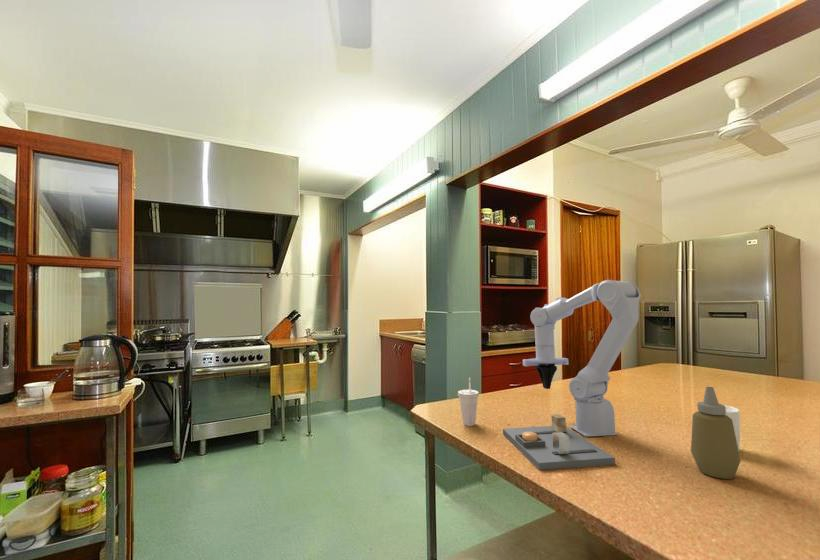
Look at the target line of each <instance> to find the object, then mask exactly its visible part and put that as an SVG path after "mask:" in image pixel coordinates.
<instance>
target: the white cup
mask: <svg viewBox="0 0 820 560" xmlns="http://www.w3.org/2000/svg"><path fill="white" fill-rule="evenodd" d="M723 405H724V406H725V408H726V414H725V415H727V416H728V417H730V418H731V419H732V421H733V426H734V431H735V436H736V441H737V446H738V450H739V452H740V451H741V450H740V442H741V420H740V419H741V418H740V415H741V410H740V409H739V408H737V407H734V406H730V405H726V404H723Z"/></svg>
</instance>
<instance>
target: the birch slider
mask: <svg viewBox="0 0 820 560" xmlns="http://www.w3.org/2000/svg"><path fill="white" fill-rule="evenodd" d="M551 426H552V429H553V430H555V431H556V432H566V427H567V423H566V417H565V416H564V415H562V414H560V413H556V414H555V413H554V414H551Z"/></svg>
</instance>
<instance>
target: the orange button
mask: <svg viewBox="0 0 820 560" xmlns="http://www.w3.org/2000/svg"><path fill="white" fill-rule="evenodd" d="M522 439H523V440H524V441H525V442H528V441H537V434H536V433H534V432H523V433H522Z"/></svg>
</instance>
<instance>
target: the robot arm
mask: <svg viewBox="0 0 820 560" xmlns="http://www.w3.org/2000/svg"><path fill="white" fill-rule="evenodd" d="M641 297H642V294H641V292H640V290H639V287H638V286H637V285H636V284H635V283H634V282H633V281H631V280H612V279H606V280H603V281H601V282H599V283H598V282H597V283H595V284H593V285H592V286H590V287H588V288H587V289H585V290H583V291H581V292H579V293H577V294H575V295H573V296H572V297H570V298H566V297H556V298H555V301H553V302H550V303H545V304H544V305H543V307H535V308H534V309H533V310H532V311H531V312H530V316H529V317H530V322H531V323H532V324H533V325H534V342H535V357H534V358H528V359H527V358H526V359H522V366H524V367H532V366H534V367H535V370H536V372H537V373H538V375H539V377H540V380H541V384H542V387H543V389H545V390H550V389H551V386H552V381H553V379H554V376H555V373H556V372H557V370H558V366H559V365H560V366H562V365H566V366H567V365H568V366H569V364H570V363H569V358H566V357H556V354H555V353H556V349H555V331H554V330H555V325H556V324H557V322H558V321H560V320H562V319H565V318H567V317H569V316H573V313H574V311H575V309H578V308H580V307H583V306H585V305H588V304H591V303H593V302H596V301H598V302H600V303H602V305H603V306H604V307H605V308H606V310H607V311H608V312H609V313H610V315H611V317H612V319H611V321H610V324H609V325H608V326H607V329H606V330H605V332H604V334H603V336H602V338H601V340H600V341H599V343H598V345H597V347H596V348H595V351H594V352H593V354H592V356H591V357H590V360H589V362H588V363H587V365H586V366H585V367H583V368H582V369H581V370H579V371H578V373H577V375H576V376H575V377H573V378H571V379H570V381H569V384H568V389H569V392H570V393H569V394H570V395H571V396H572V397H573V400H574V402H575V424H574V425H569V427H570V428H571V430H574V431H576V432H578V433H579V434H580V435H582V436H583V437H586V438H587V437H600V436H601V437H603V436H615V435H616V436H618V432H617V431H616V420H615V419H616V418H615V417H616V416H615V410H614V405H613V404H612V402H611V401H610V400H609V399H607V398H604V396H605V394H606V393H607V392H608V388H609V387H608V385H609V382H610V380H611V377H610V375H609V372H610V371H611V369H612V367H613V366H614V364H615V362H616V360H617V358H619V355H620V353H621V352H622V350H623V348H624V346H625V345H626V343H627V341H628V339H630V336H631V335H632V333H633V331H634V329H635V328H636V326H637V325H638V322H639V320H640V317H639V315H640V313H639V312H640V308H639V307H640V306H639V305H640V303H639V302H640V299H641Z"/></svg>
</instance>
